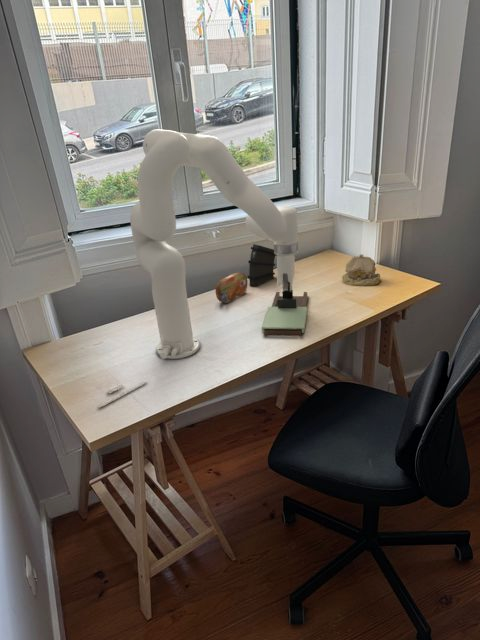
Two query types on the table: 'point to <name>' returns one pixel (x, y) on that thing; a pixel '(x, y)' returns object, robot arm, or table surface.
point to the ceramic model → (361, 271)
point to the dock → (300, 303)
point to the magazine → (261, 265)
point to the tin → (231, 287)
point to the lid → (285, 315)
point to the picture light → (120, 392)
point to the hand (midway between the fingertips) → (287, 301)
